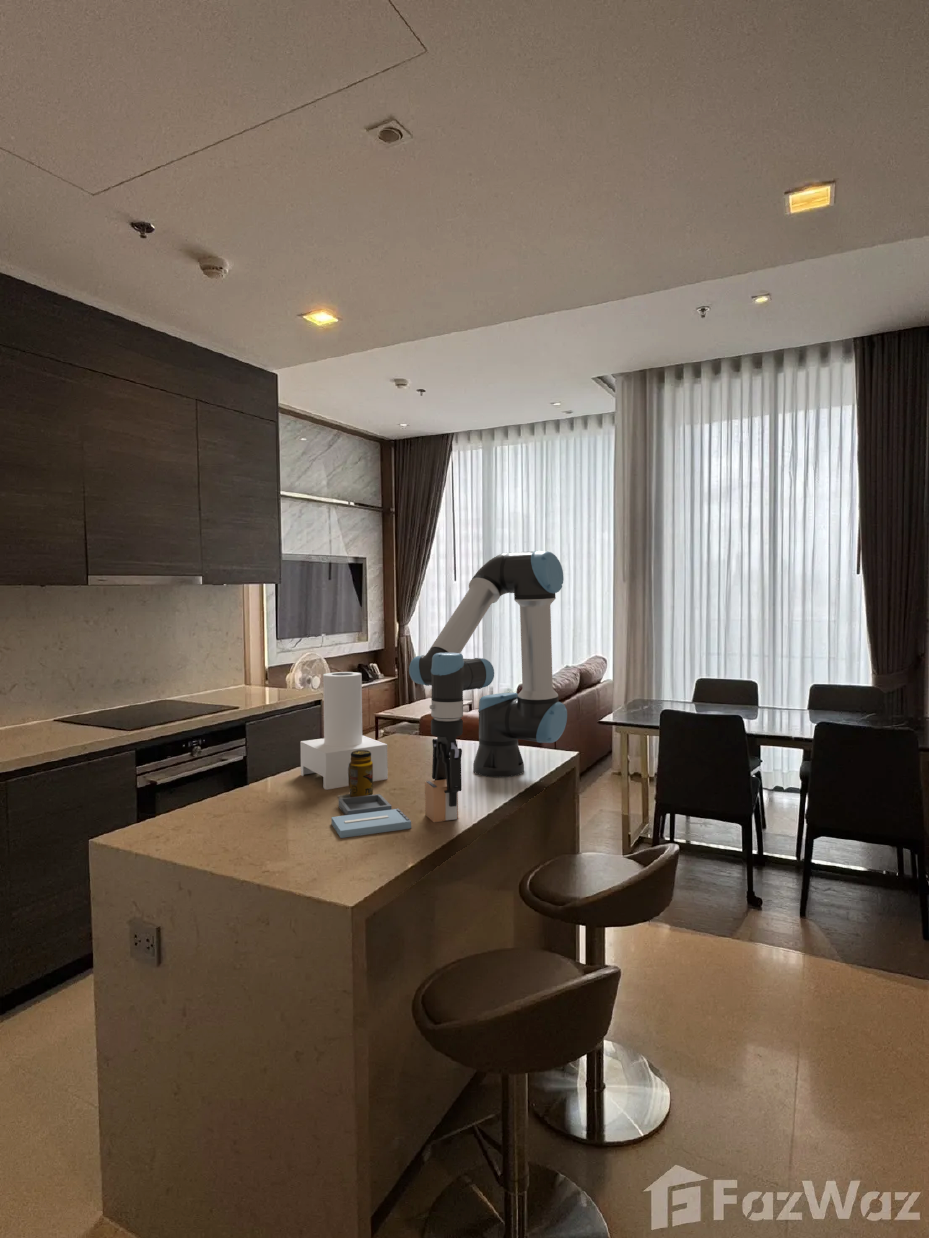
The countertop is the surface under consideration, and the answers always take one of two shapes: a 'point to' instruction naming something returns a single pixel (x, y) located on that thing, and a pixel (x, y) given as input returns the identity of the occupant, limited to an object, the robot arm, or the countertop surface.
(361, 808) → the tray
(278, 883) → the countertop surface
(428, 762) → the countertop surface
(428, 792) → the stub
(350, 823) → the board
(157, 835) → the countertop surface
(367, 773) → the condiment
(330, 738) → the paper towel holder
